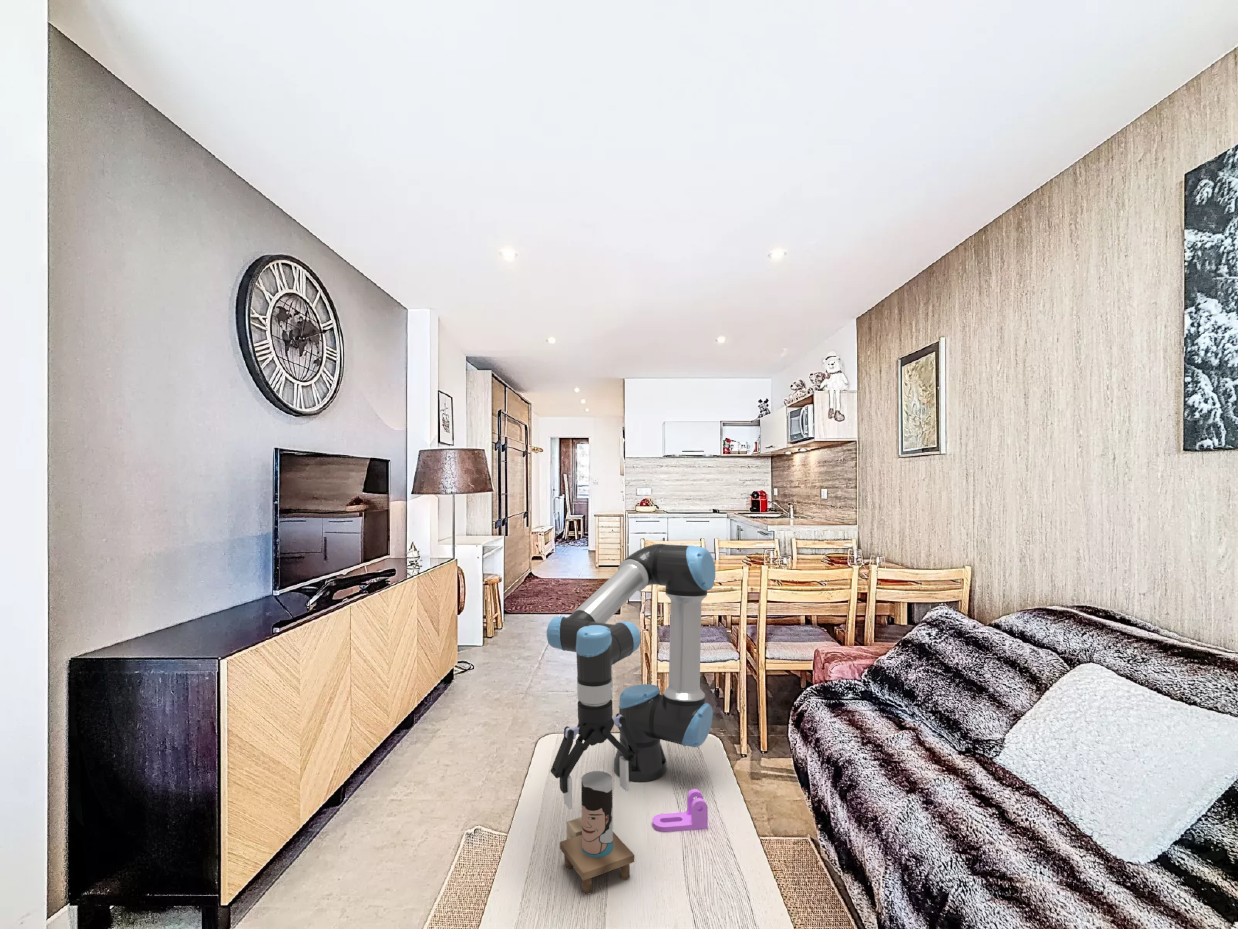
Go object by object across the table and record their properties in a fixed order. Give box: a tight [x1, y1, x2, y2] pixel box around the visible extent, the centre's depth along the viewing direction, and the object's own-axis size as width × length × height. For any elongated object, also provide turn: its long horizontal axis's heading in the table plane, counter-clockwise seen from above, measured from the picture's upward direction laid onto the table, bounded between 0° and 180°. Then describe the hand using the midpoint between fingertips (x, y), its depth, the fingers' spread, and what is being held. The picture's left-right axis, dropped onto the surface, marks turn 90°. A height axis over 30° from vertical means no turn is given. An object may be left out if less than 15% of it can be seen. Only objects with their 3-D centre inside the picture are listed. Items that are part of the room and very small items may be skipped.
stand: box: [559, 831, 635, 895], centre depth 135 cm, size 12×12×5 cm
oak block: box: [566, 816, 582, 840], centre depth 144 cm, size 5×5×5 cm
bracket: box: [651, 788, 709, 833], centre depth 152 cm, size 13×6×7 cm, turn 97°
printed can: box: [580, 770, 614, 858], centre depth 135 cm, size 7×7×15 cm
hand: (597, 796), depth 135 cm, fingers open, 13 cm apart
